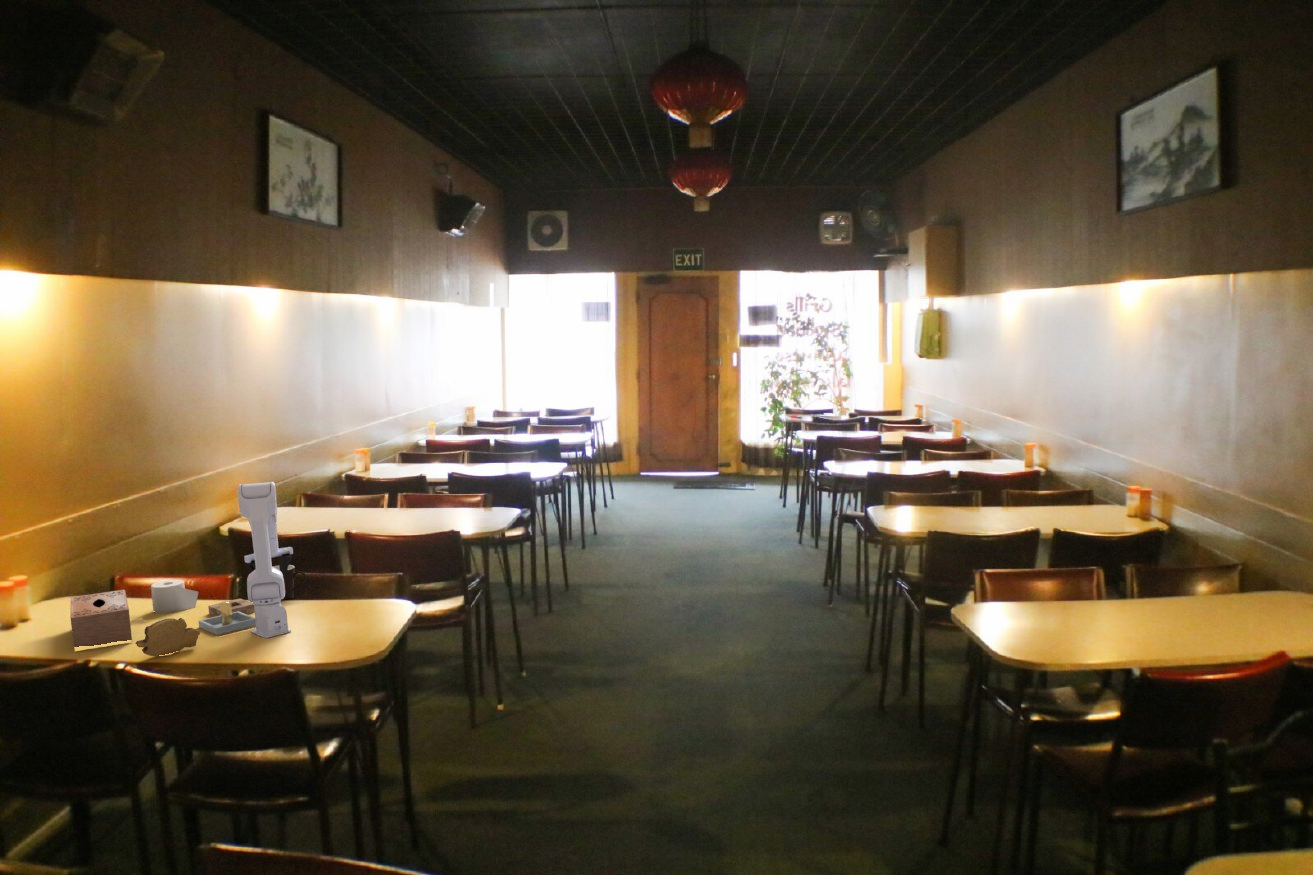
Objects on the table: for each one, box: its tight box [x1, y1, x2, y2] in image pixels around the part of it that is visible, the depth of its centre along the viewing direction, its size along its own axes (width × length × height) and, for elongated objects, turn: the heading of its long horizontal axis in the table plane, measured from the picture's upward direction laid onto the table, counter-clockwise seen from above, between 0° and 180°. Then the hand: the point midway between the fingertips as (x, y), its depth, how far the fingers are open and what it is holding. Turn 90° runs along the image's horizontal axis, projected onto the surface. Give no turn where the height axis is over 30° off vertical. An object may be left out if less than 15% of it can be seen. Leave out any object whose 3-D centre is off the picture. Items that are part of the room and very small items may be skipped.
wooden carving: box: [135, 617, 201, 657], centre depth 286 cm, size 16×5×10 cm, turn 139°
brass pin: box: [219, 600, 233, 626], centre depth 309 cm, size 3×3×7 cm
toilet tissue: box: [150, 579, 199, 614], centre depth 331 cm, size 9×13×9 cm
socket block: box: [207, 598, 255, 617], centre depth 323 cm, size 10×10×3 cm
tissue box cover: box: [70, 589, 133, 648], centre depth 306 cm, size 26×14×10 cm, turn 29°
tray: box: [198, 611, 256, 637], centre depth 309 cm, size 12×12×2 cm
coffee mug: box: [272, 564, 307, 601], centre depth 338 cm, size 12×9×10 cm
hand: (271, 581), depth 322 cm, fingers open, 7 cm apart
